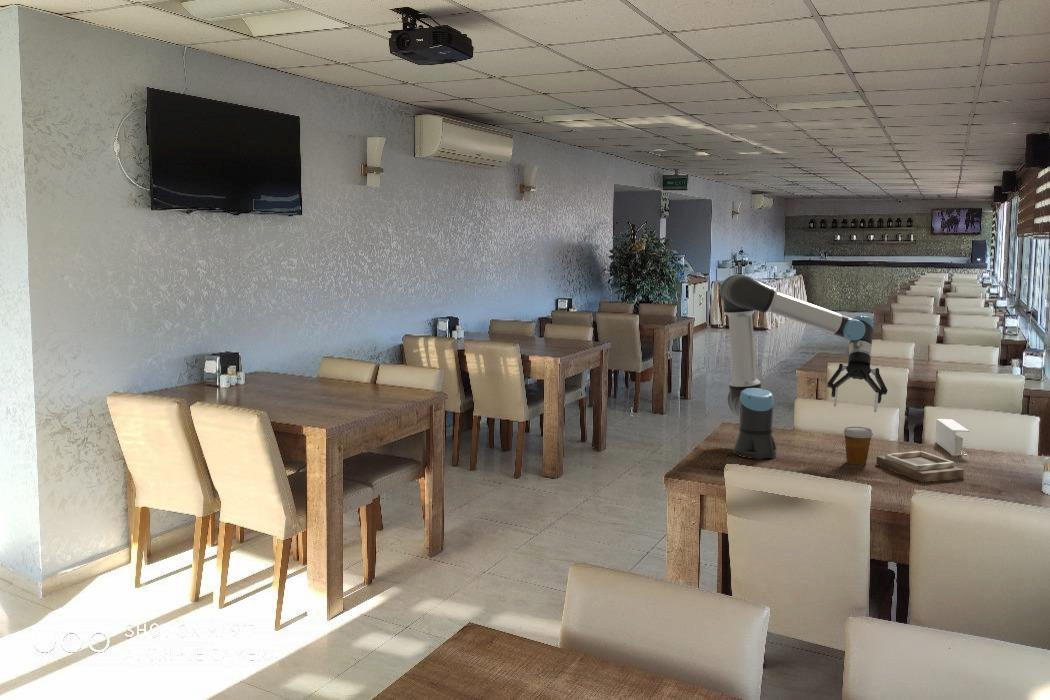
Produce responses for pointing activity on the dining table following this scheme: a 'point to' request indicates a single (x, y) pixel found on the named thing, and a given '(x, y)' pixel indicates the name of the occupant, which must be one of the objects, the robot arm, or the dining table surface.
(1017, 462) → the dining table surface
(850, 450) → the disposable coffee cup
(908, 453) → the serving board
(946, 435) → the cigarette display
